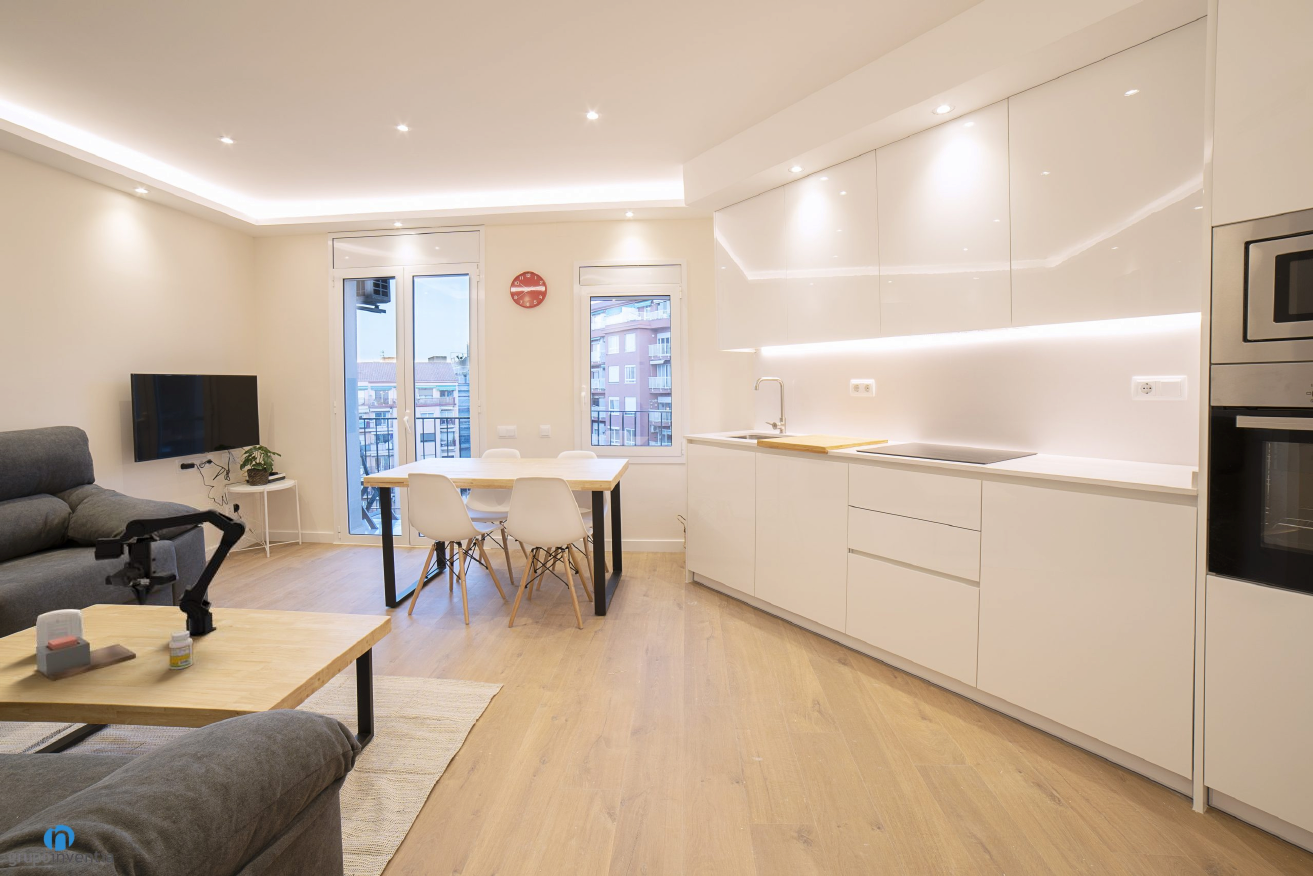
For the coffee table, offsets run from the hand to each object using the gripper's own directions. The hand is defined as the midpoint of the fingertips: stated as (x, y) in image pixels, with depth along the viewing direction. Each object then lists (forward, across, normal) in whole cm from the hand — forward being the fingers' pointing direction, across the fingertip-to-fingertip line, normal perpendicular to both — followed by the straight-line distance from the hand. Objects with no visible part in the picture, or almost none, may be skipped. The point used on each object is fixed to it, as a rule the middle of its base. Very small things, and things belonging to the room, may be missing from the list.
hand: (142, 604), depth 189 cm
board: (+12, -2, -16) cm, 20 cm away
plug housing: (+11, -5, -21) cm, 24 cm away
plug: (+9, -5, -21) cm, 23 cm away
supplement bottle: (+12, +27, -17) cm, 34 cm away
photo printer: (+12, -20, -7) cm, 25 cm away
